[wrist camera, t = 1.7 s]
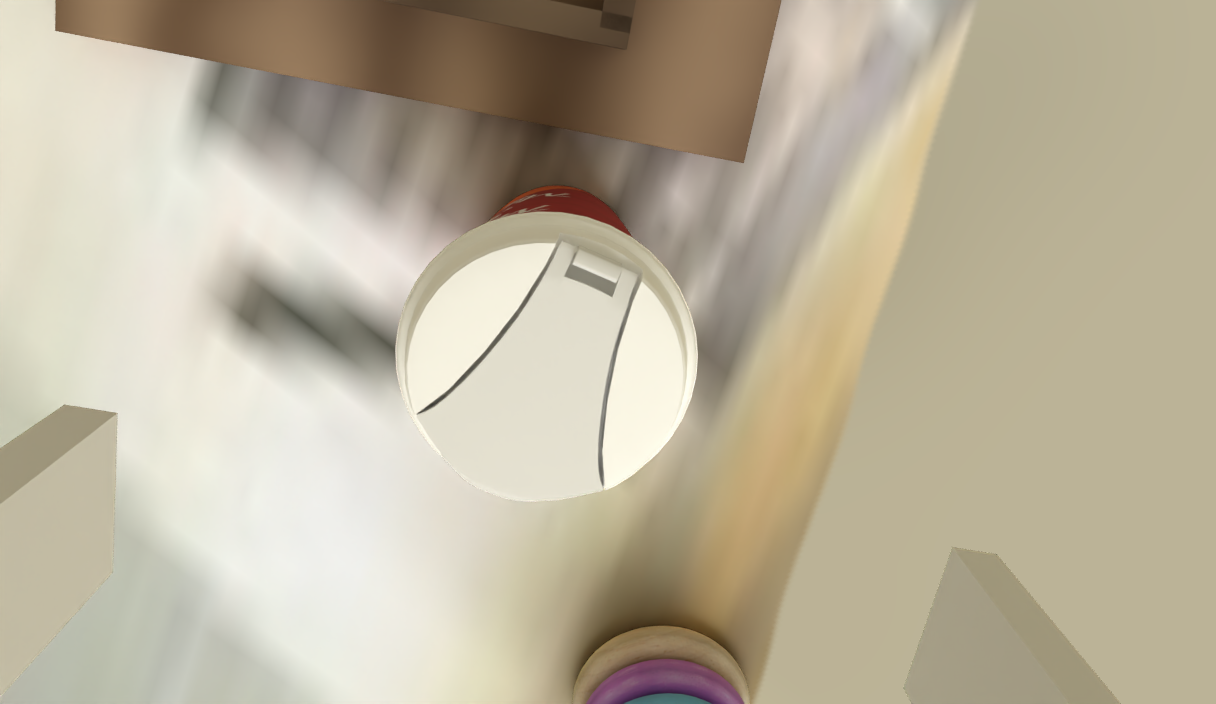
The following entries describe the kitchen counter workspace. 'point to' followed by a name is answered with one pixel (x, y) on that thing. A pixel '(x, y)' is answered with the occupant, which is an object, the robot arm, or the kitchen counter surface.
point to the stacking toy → (661, 670)
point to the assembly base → (490, 55)
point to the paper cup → (546, 350)
